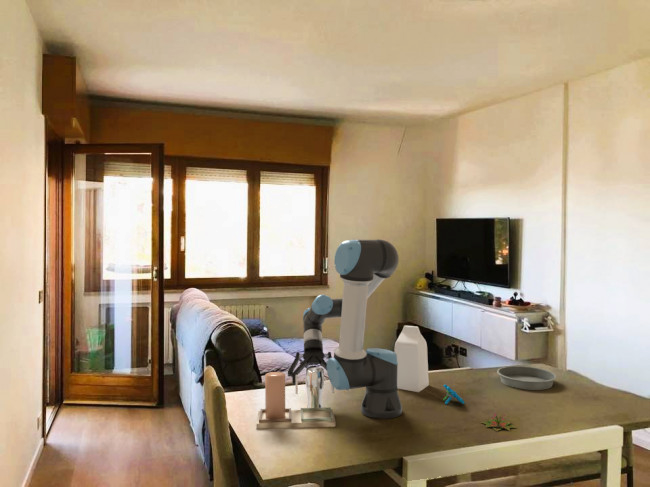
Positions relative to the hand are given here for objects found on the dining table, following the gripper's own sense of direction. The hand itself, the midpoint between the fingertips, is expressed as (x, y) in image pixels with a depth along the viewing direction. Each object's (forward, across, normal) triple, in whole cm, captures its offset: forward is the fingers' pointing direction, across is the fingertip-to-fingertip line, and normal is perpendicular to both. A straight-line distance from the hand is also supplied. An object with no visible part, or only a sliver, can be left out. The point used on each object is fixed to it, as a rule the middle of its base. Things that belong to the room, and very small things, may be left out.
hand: (314, 391), depth 202 cm
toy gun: (+2, -54, -9) cm, 55 cm away
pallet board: (+12, +7, +2) cm, 14 cm away
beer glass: (+4, 0, -6) cm, 7 cm away
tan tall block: (+11, +14, +3) cm, 18 cm away
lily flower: (+19, -63, +8) cm, 66 cm away
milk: (-15, -43, -25) cm, 52 cm away
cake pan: (-16, -95, -27) cm, 100 cm away
